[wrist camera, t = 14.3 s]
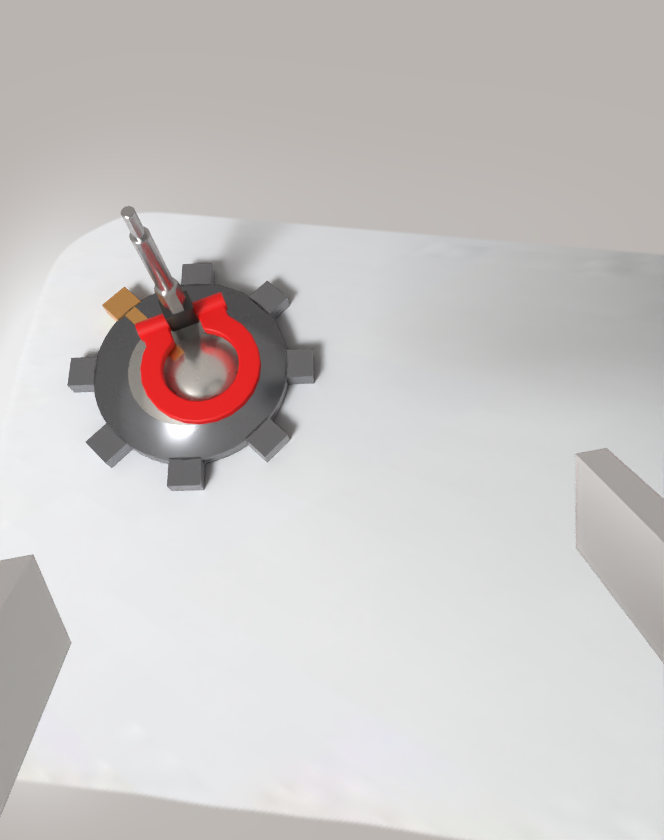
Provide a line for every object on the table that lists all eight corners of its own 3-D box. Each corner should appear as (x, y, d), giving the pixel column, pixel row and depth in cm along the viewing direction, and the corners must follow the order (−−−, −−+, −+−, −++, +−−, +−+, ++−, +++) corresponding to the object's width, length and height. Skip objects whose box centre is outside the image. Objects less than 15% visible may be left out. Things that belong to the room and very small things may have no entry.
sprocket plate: (312, 267, 49) (311, 258, 48) (315, 485, 43) (314, 480, 42) (89, 277, 50) (83, 267, 48) (61, 494, 43) (52, 490, 42)
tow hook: (279, 399, 44) (234, 293, 47) (254, 312, 32) (195, 174, 35) (165, 444, 43) (127, 333, 46) (95, 372, 31) (48, 226, 34)
